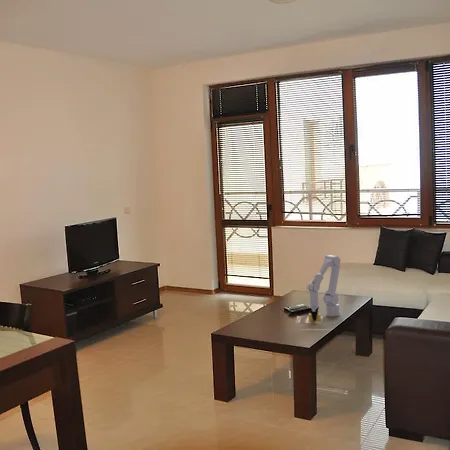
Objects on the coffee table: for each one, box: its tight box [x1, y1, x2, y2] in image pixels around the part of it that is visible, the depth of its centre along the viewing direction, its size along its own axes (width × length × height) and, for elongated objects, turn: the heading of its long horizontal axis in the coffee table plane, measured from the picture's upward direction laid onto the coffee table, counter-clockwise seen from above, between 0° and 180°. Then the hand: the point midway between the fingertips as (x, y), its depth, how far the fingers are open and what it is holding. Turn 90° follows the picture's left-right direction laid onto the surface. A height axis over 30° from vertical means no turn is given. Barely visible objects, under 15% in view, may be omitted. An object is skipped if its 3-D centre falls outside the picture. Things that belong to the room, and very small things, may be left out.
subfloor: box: [294, 315, 323, 325], centre depth 387 cm, size 18×19×1 cm
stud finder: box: [308, 312, 322, 321], centre depth 386 cm, size 8×5×4 cm, turn 77°
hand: (314, 318), depth 386 cm, fingers open, 7 cm apart
